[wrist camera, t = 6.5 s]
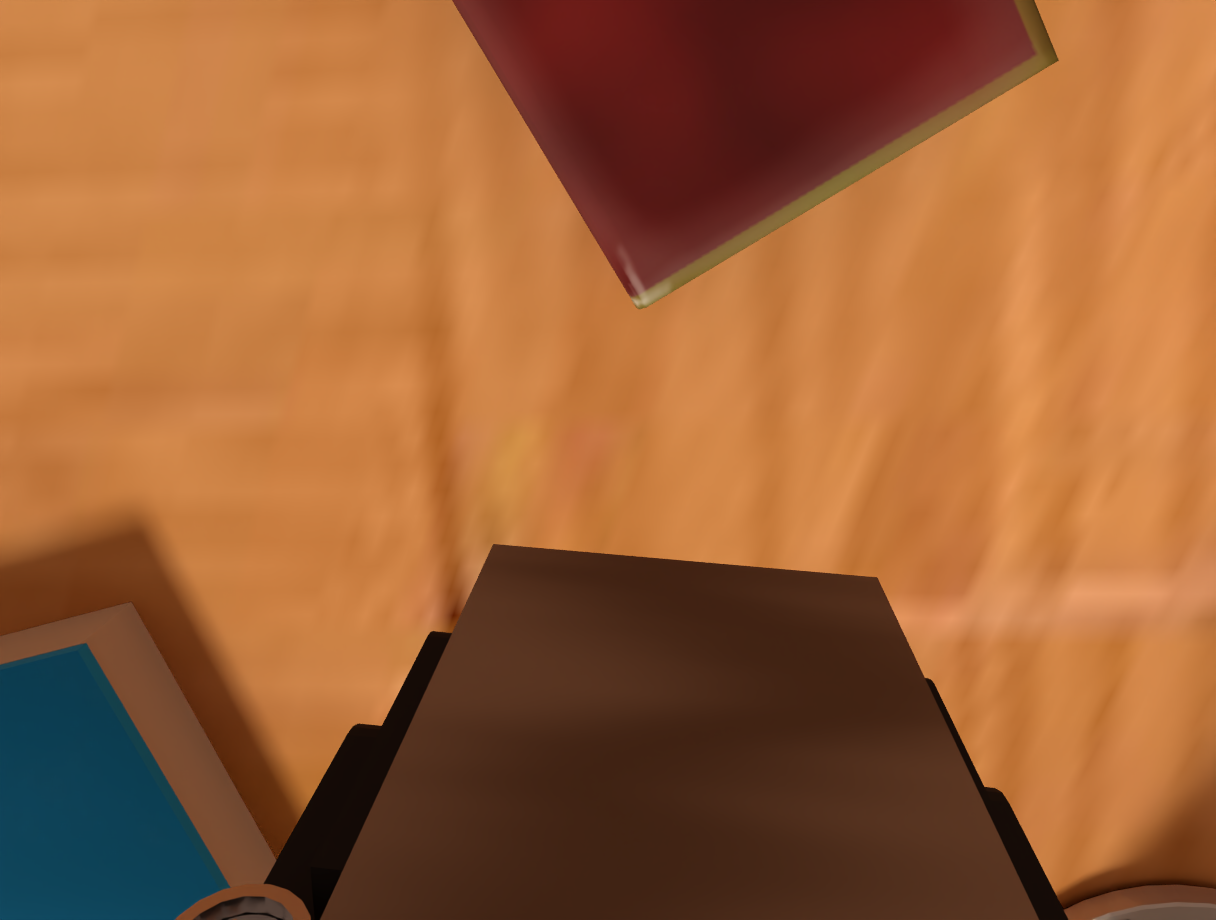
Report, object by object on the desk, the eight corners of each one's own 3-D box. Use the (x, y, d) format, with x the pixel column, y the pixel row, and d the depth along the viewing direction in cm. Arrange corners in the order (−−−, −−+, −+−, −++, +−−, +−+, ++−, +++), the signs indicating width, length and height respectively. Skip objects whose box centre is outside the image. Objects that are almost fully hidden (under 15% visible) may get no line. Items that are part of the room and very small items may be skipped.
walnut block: (877, 577, 11) (1099, 1047, 5) (819, 872, 12) (937, 1461, 7) (493, 544, 11) (303, 957, 5) (490, 837, 13) (343, 1378, 7)
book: (74, 644, 28) (362, 1131, 36) (149, 584, 32) (394, 1033, 40) (-309, 747, 31) (31, 1177, 39) (-196, 680, 35) (93, 1081, 43)
